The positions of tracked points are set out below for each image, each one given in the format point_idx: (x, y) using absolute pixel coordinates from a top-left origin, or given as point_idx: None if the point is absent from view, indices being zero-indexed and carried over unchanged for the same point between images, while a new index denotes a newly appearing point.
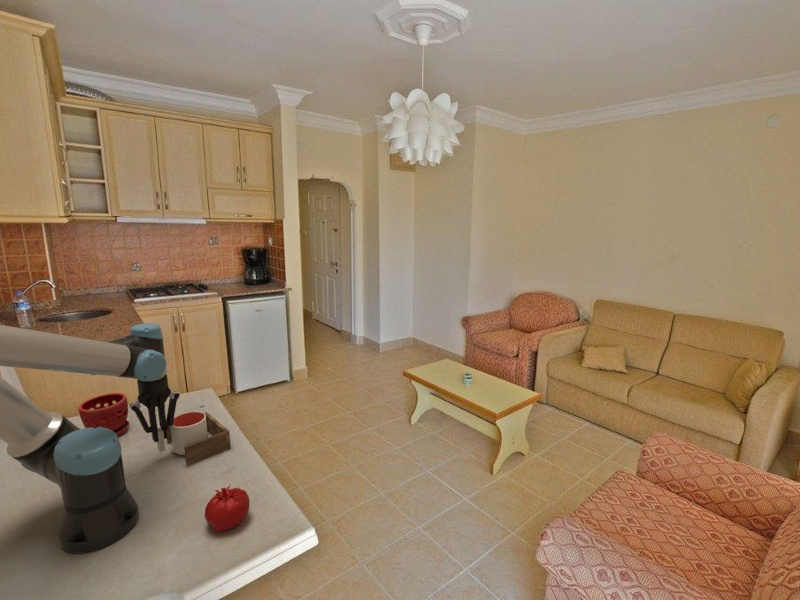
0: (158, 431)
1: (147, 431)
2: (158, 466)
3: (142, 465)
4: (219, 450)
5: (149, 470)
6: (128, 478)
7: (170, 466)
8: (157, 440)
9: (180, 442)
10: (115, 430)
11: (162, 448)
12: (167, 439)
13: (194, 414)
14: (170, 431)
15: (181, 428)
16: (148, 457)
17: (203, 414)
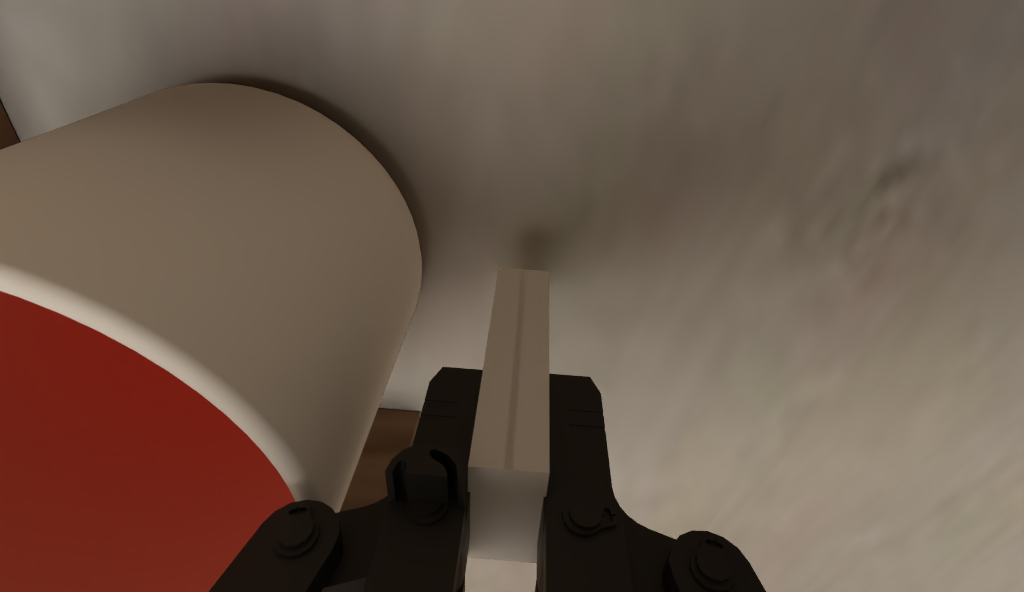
0: (531, 491)
1: (731, 572)
2: (605, 162)
3: (680, 282)
4: None
5: (689, 160)
6: (868, 178)
7: (529, 65)
8: (559, 385)
9: (327, 218)
10: None
11: (525, 288)
12: (411, 439)
13: (2, 543)
14: (365, 489)
15: (162, 322)
16: (593, 350)
17: None
